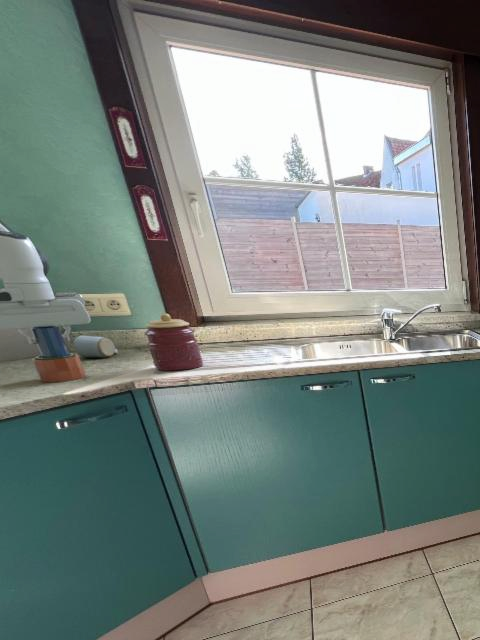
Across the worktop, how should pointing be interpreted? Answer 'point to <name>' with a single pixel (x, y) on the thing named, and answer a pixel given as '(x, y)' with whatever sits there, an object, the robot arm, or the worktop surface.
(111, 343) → the ceramic mug
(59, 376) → the orange faceted bowl
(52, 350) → the dark blue cylinder
